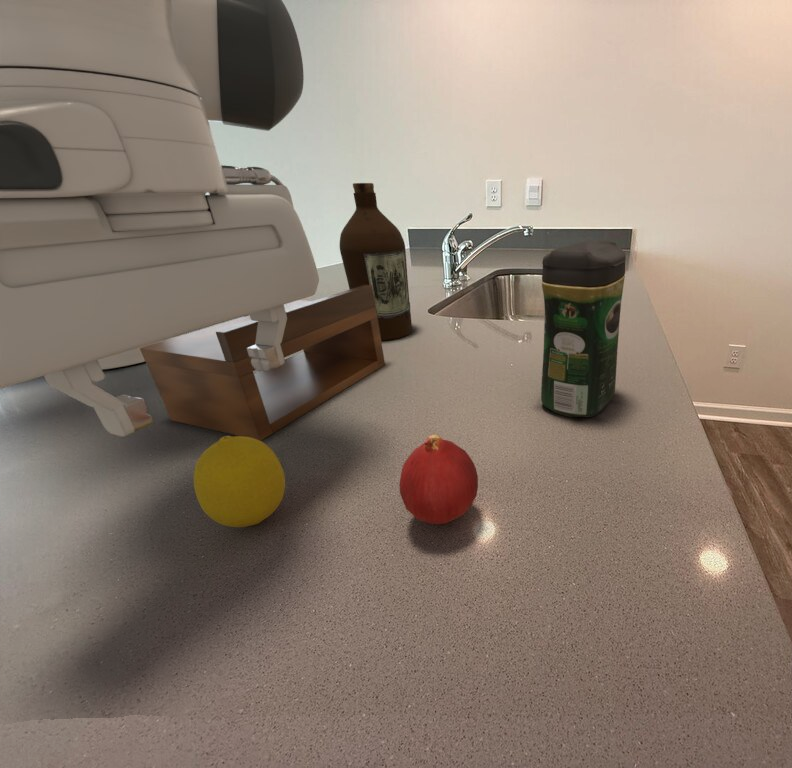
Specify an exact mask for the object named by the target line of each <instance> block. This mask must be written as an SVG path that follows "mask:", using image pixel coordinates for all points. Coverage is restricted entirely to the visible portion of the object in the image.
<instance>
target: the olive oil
mask: <svg viewBox="0 0 792 768" xmlns="http://www.w3.org/2000/svg"><path fill="white" fill-rule="evenodd" d="M352 188H353V191H354V192H353V198H354V204H355V210H354V212H353V214H352V215H351V217H350V218H349V220H348V221H347V222H346V223H345V225H344V227H343V228H342V230H341V232H340V236H339V252H340V257H341V261H342V265H343V269H344V272H345V277H346V281H347V285H348V290H350V289H353V288H356V287H359V286H362V285H372V289H373V295H374V301H375V306H376V312H377V319H378V325H379V331H380V337H381V342H382V341H392V340H397V339H400V338H403V337H405V336H408V335H409V334H411V333H412V331H413V325H412V324H413V322H412V314H411V302H410V291H409V280H408V267H407V266H408V265H407V252H406V244H405V240H404V238H403V235H402V233H401V231H400V229H398V226H396V225H395V224H394V223H393V222H392V221H391V220H390V219H389V218H388V217H387V216H386V215H384V213H383V212H382V211H380V209H379V207H378V203H377V202H378V201H377V195H376V192H375V190H374V189H375V185H374V183H373V182H353V183H352Z"/></svg>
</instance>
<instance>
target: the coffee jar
mask: <svg viewBox="0 0 792 768" xmlns="http://www.w3.org/2000/svg"><path fill="white" fill-rule="evenodd" d="M626 259H627V258H626V252H624V250H623V249H622V248H621V247H619V246H618V245H617V244H616V242H614V241H609V240H608V241H607V240H589V239H588V240H586V239H585V240H581V241H579V242H578V241H577V242H575V243H572V244H569V245H566V246H563V247H558V248H555V249H552V250H551V251H550V252H549V253H548V254H546V255H544V256H543V258H542V261H541V265H542V271H541V288H542V294H543V304H544V324H543V325H544V327H543V353H542V367H541V368H542V369H541V385H540V386H541V388H540V389H541V390H540V391H541V392H540V397H541V398H540V400H541V403H542V404H543V407H545V408H547V409H548V410H551V411H552V412H553V413H555V414H558V415H561V416H565V417H569V418H578V417H579V418H580V417H582V418H591V417H594V416H596V415H598V414H599V413H600V412H601V411H603V410H604V409H605V408H606V406H608V404H609V403H610V402H611V401H612V399H613V397H614V395H615V392H616V380H617V363H618V348H619V335H620V334H619V333H620V321H621V310H622V301H623V300H622V299H623V292H624V285H625V278H626V276H625V275H626Z"/></svg>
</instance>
